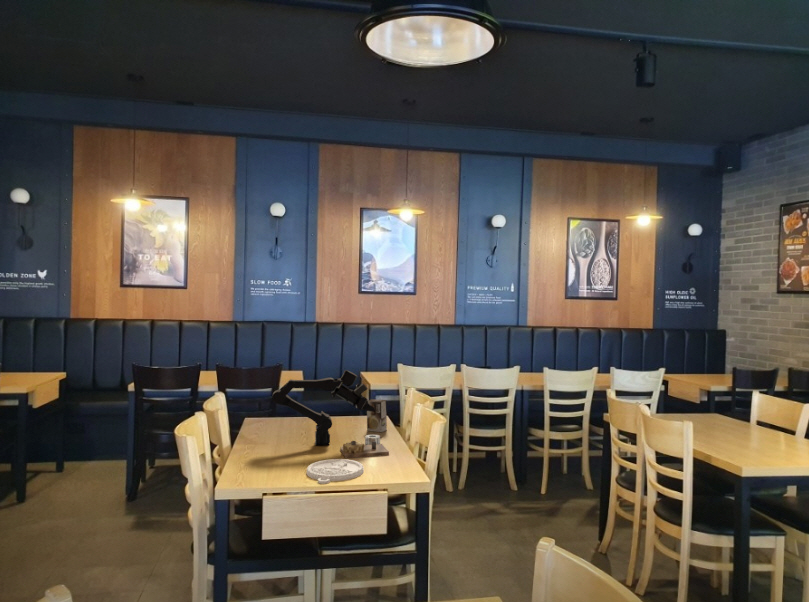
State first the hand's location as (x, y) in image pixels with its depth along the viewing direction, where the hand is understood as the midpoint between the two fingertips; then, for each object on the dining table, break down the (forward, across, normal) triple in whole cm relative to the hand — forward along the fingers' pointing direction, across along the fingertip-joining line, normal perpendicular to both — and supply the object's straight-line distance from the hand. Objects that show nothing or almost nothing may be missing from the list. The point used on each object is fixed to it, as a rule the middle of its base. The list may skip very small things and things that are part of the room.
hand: (373, 409), depth 283 cm
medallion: (-10, -43, +30) cm, 54 cm away
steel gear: (+8, -2, +14) cm, 16 cm away
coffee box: (+12, +24, +9) cm, 28 cm away
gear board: (+3, -17, +19) cm, 25 cm away
